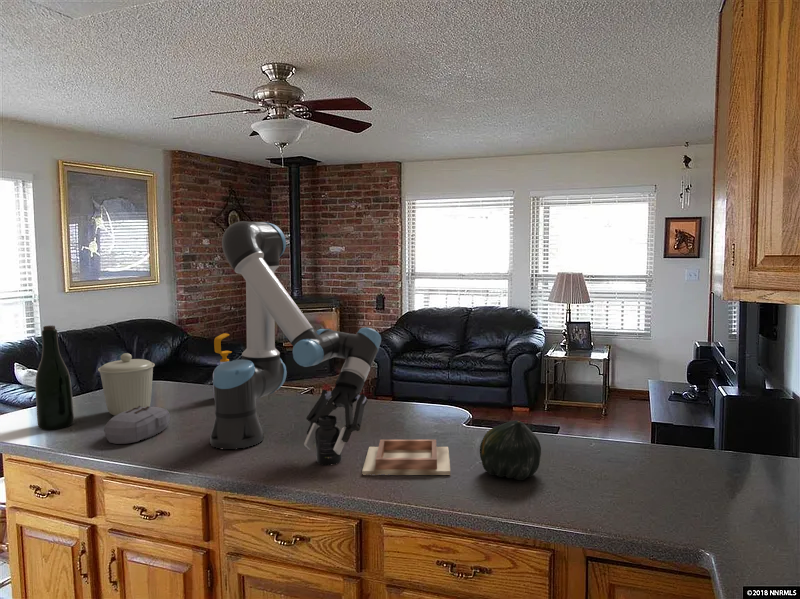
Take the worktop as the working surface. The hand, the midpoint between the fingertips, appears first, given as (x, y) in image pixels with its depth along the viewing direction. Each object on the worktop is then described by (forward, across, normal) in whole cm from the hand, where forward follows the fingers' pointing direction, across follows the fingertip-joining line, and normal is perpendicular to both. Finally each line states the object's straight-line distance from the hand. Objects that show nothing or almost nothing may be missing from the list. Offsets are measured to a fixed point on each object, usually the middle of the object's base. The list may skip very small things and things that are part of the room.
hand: (321, 449), depth 160 cm
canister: (-6, +91, -12) cm, 92 cm away
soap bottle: (-27, +73, -33) cm, 84 cm away
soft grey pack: (+6, +67, -1) cm, 67 cm away
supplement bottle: (+1, 0, -6) cm, 6 cm away
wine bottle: (+9, +100, +2) cm, 100 cm away
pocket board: (-5, -20, -11) cm, 23 cm away
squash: (-7, -46, -14) cm, 49 cm away
